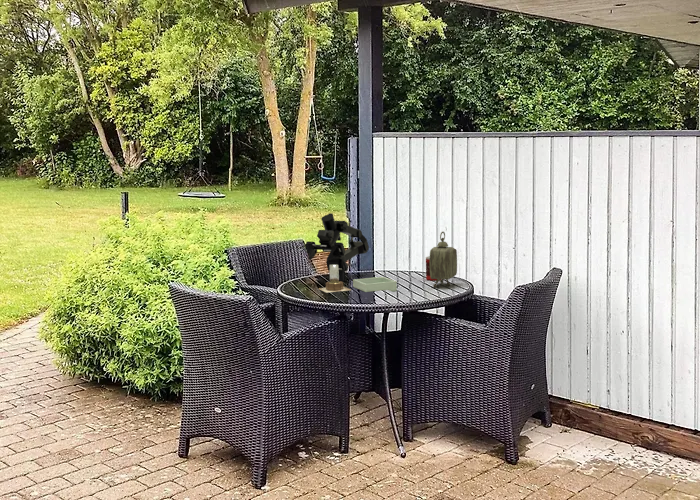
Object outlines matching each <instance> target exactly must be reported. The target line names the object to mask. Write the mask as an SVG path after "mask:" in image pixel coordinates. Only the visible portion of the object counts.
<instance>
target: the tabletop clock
mask: <svg viewBox="0 0 700 500" xmlns="http://www.w3.org/2000/svg"><path fill="white" fill-rule="evenodd" d="M442 234H443V237H442ZM439 239H440V241H439V242H438V244H437V246H433V247H432V248H431V249H430V251H429V256H430V278H431V279H437V281H435V283H433V286H432V287H433V288H436V287H437V286H438V283H440V284H444V280H446V286H447V287H450V286H451V282H449V280H450V279H453V278H454V277H455V276H456V275H457V273H458V253H457V252H458V251H457V249H456V248H454V247H453V246H449V244H448V242H446V241H445V239H446V233H445V231H441V232H440V235H439ZM440 279H442V280H440Z"/></svg>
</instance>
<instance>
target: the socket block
mask: <svg viewBox="0 0 700 500" xmlns="http://www.w3.org/2000/svg"><path fill="white" fill-rule="evenodd" d="M329 282H330V281H327V282H325V287H319V288H318V289H319V290H320V291H322V292H324V293H326V294H327V293H334V292H335V293H337V292H346V291H352V289H350V288H348V287H346V286H344V281H343V282H341V281H339V282H340V283H337V284H329Z"/></svg>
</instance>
